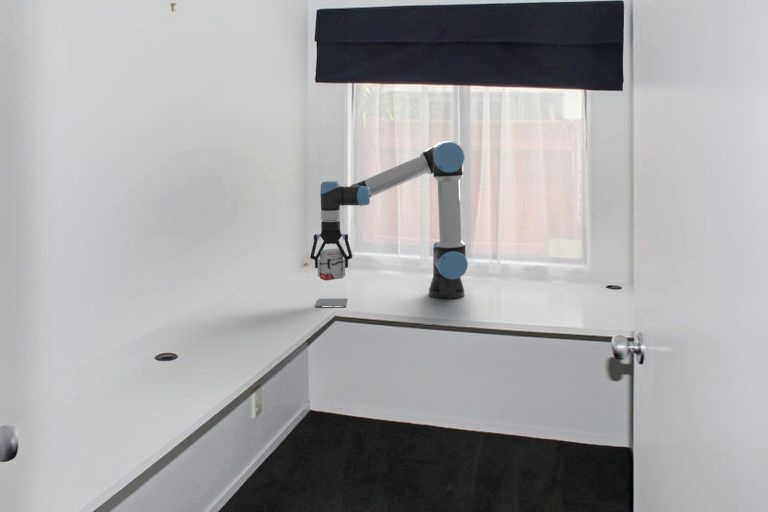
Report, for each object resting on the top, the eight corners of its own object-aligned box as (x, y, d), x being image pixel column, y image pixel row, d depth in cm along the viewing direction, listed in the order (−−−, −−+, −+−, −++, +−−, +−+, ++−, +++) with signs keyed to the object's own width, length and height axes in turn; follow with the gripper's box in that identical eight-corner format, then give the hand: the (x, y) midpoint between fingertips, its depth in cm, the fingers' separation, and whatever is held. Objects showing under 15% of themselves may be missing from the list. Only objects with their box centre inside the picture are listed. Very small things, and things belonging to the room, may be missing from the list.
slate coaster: (347, 299, 255) (347, 298, 255) (346, 307, 243) (346, 305, 243) (318, 300, 255) (318, 298, 255) (315, 307, 243) (315, 306, 243)
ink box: (325, 280, 243) (324, 251, 241) (319, 278, 247) (318, 249, 245) (344, 278, 247) (343, 249, 245) (338, 276, 251) (337, 247, 249)
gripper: (358, 219, 247) (359, 273, 251) (303, 219, 246) (305, 274, 250) (358, 221, 239) (359, 277, 243) (301, 221, 239) (303, 278, 243)
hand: (331, 275), depth 247 cm, fingers closed on ink box, 9 cm apart
